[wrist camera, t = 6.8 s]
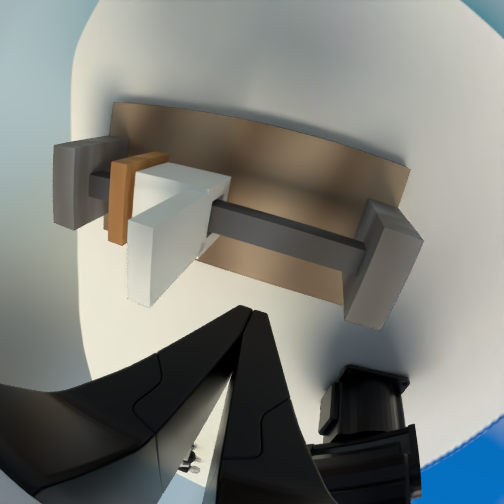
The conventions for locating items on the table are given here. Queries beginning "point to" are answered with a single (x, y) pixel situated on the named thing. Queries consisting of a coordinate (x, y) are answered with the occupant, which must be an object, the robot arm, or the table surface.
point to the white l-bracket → (169, 226)
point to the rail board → (257, 202)
